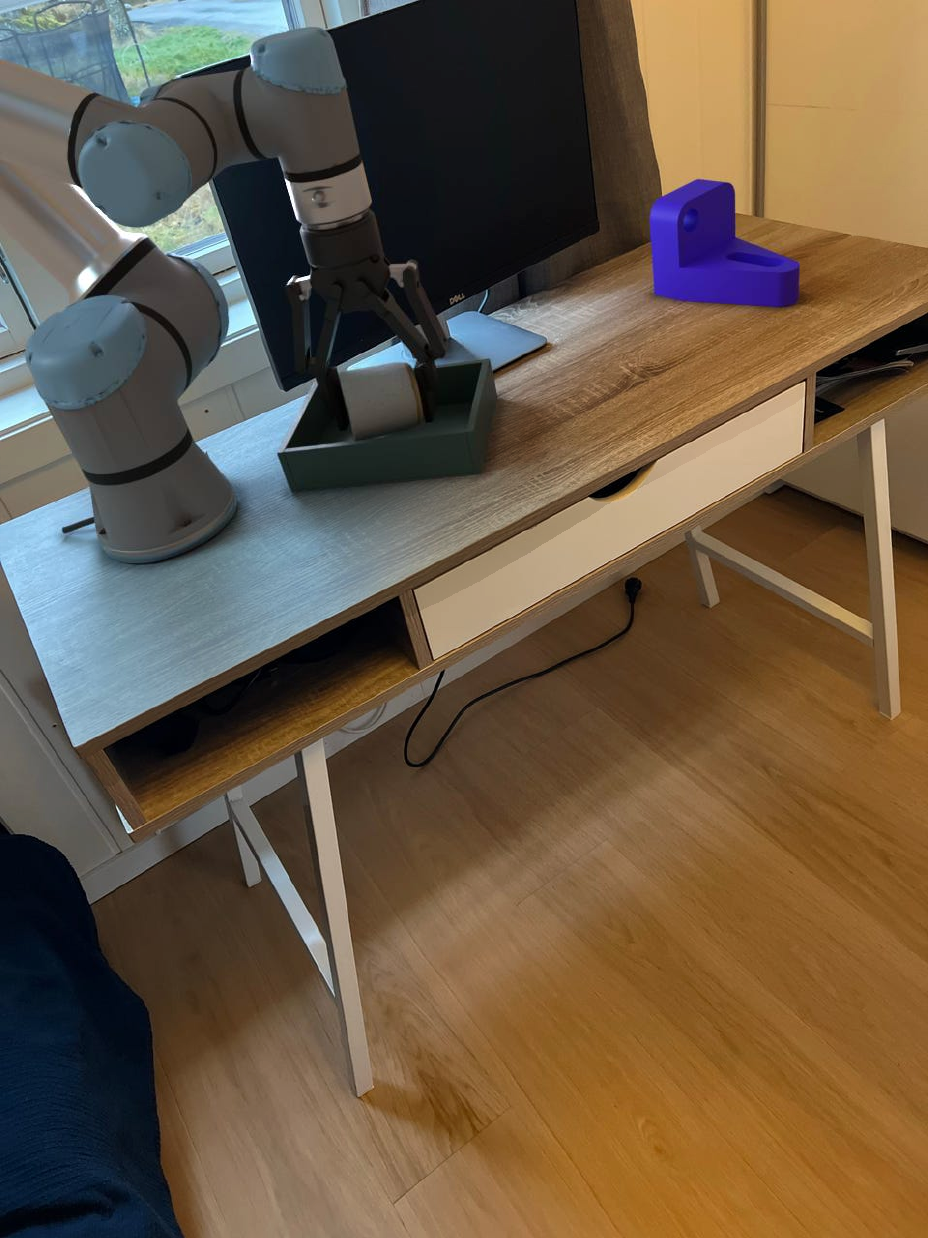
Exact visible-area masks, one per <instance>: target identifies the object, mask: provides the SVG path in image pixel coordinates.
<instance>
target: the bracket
mask: <svg viewBox="0 0 928 1238" xmlns="http://www.w3.org/2000/svg"><path fill="white" fill-rule="evenodd" d="M649 231H650V242H651V243H650V246H651V247H650V248H651V260H652V261H651V262H652V263H651V264H652V276H653V279H652V280H653V291H654V296H655V295H656V296H659V297H664V298H668V299H672V300H676V301H682V302H694V303H695V302H696V303H709V304H711V303H713V304H728V305H740V306H741V305H743V306H759V307H773V308H774V307H775V308H782V307H789V306H792V305H795V304H796V303H797V302H799V299H800V298H799V297H800V296H799V295H800V269H801V268H800V267H801V263H800V262H799V261H797V260H795V259H792V258H790V257H787V256H785V255H782V254H781V253H780V254H779V253H777V252H774V251H772V250H769V249H767V248H765V247H762V246H759V245H757V244H755V243H753V242H750V241H747V240H744V239H742V238H740V237H737V236H736V190H735V187H734V185H733V183H731V182H728V181H719V180H712V179H703V178H696V179H693V180H692V181H690V182H688V183H686V184H684V185H682V186H680V187H678V188H676V189H674V190H671V191H670V192H668V193H667V194H664V195H662V196H660V197H659V198H657V199H656V200H655V202H654V203H653V205H652V207H651V209H650V214H649Z"/></svg>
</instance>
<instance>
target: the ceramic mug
mask: <svg viewBox="0 0 928 1238" xmlns="http://www.w3.org/2000/svg"><path fill="white" fill-rule="evenodd" d="M413 368H414V367H412V365H411V364H410V363H408V362H405V361H403V362H402V361H393V362H388V363H382V364H378V365H372V366H367V367H360V368H355V369H354V368H353V369H349V370H343V371H340V372H338V374H339V380H340V384H341V389H342V393H343V397H344V401H345V405H346V409H347V413H348V417H349V421H350V426H351V430H352V433H353V438H354V441H359V440H368V439H372V438H375V437H379V436H383V435H386V434H390V433H394V432H398V431H402V430H406V429H409V428H412V427H414V426H416V425H418V424H420V423H421V421H422V419H423V410H422V403H421V398H420V393H419V389H418V385H417V381H416V377H415V374H414V371H413Z"/></svg>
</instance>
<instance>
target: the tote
mask: <svg viewBox="0 0 928 1238" xmlns="http://www.w3.org/2000/svg"><path fill="white" fill-rule="evenodd" d="M435 365H436V370H437V374H438V379H439V381H438V386H437V389H436V391H432V393H433V398H434V403H435V407H436V412H435V416H434V419H433V422H429V423H426V421H425V416H424V412H423V419H422V421H421V423H420V424H418V425H416V426H414V427H412V428H409V429H406V430H402V431H398V432H394V433H390V434H386V435H383V436H379V437H375V438H372V439H368V440H359V441H354V438H353V433H352V430H351V426H350V422H349V425H348V427H347V429H346V431H339V427H338V424H337V421H336V417H335V414H334V410H333V407H332V404H331V402H324V401H323V399H322V397H321V393H320V390H319V387H318V384H317V380H314V381H313V383H312V385H311V387H310V389H309V391H308V393H307V395H306V397H305V398H304V400H303V403H302V404H301V405H300V408H299V410H298V412H297V414H296V416H295V417H294V420H293V421H292V424H291V425H290V427H289V428H288V430H287V432H286V435H285V437H284V438H283V440H282V442H281V444H280V446H279V448H278V450H277V451H276V455H277V457H278V460H279V463H280V465H281V468H282V471H283V473H284V476H285V479H286V481H287V485H288V487H289V490H290V493H298V492H299V493H300V492H309V491H320V490H327V489H328V490H330V489H338V488H339V489H340V488H349V487H358V486H359V487H361V486H368V485H369V486H370V485H379V484H388V483H389V484H390V483H398V482H408V481H417V480H429V479H437V478H447V477H448V478H449V477H458V476H467V475H469V476H470V475H477V474H483V469H484V466H485V461H486V457H487V451H488V447H489V441H490V436H491V432H492V427H493V421H494V416H495V412H496V407H497V403H498V393H497V388H496V383H495V377H494V372H493V366H492V362H491V358H489V357H488V358H484V359H474V360H467V361H459V362H451V363H444V364H435ZM412 368H413V371H414V367H412ZM414 374H415V372H414ZM422 410H423V407H422Z"/></svg>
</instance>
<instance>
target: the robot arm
mask: <svg viewBox="0 0 928 1238" xmlns="http://www.w3.org/2000/svg"><path fill="white" fill-rule="evenodd" d="M249 55H250V66H248V67H245V68H241V69H238V70H231V71H225V72H219V73H212V74H205V75H200V76H192V77H186V78H181V77H176V78H171V79H170V80H168V81H165V82H162V83H158V84H153V85H150V86H148V87H146V88H145V89H143V90H142V91H141V92H140V95H139V96H138V97H139V98H138V104H137V105H136V106H135V105H133V104H129V103H127V102H124V101H121V100H118V99H114V98H112V97H110V96H105V95H103V94H102V93H101V94H100V93H98V92H96V91H93V90H90V89H87V88H85V87H82V86H79V85H77V84H74V83H71V82H68V81H66V80H63V79H60V78H57V77H55V76H52V75H49V74H46V73H43V72H40V71H38V70H35V69H32V68H29V67H27V66H24V65H21V64H19V63H16V62H13V61H10V60H7V59H5V58H2V57H0V228H1V229H2V230H3V231H4V232H5V233H6V234H7V235H8V236H9V237H10V238H11V239H13V241H15V242H16V243H17V244H18V245H19V246H20V247H21V248H22V249H23V250H24V251H25V252H26V253H28V255H29V256H30V257H32V258H33V259H34V260H35V261H36V262H37V263H38V264H39V265H40V266H41V267H42V268H43V269H44V270H45V271H46V272H47V273H49V274H50V275H51V276H52V277H53V278H54V279H55V280H56V281H57V282H58V283H59V284H60V285H61V286H63V287H64V288H65V289H66V292H67V295H68V304H69V305H66V306H65V309H64V310H62V311H58V312H54V313H52V314H51V315H49V317H47V318H46V319H45V320H44V321H42V322H41V323H40V324H39V325H38V326H37V327H36V328H35V329H34V330H33V332H32V333H31V335H30V336H29V338H28V340H27V342H26V345H25V349H24V358H25V362H26V365H27V367H28V370H29V372H30V374H31V377H32V378H33V382H34V386H35V389H36V391H37V394H38V395H39V396H40V399H42V400H43V402H44V404H45V405H46V407H47V409H48V411H49V413H50V415H51V416H52V418H53V420H54V422H55V424H56V426H57V427H58V429H59V431H60V433H61V435H62V437H63V439H64V441H65V442H66V444H67V446H68V447H69V450H70V451H71V453H72V455H73V457H74V459H75V460H76V463H77V464H78V466H79V467H80V469H81V471H82V473H83V475H84V477H85V479H86V481H87V483H88V486H89V493H90V499H91V507H92V514H93V516H91V517H88V518H86V519H83V520H79V521H77V522H74V523H72V524H70V525H66V526H63V527H62V528H61V532H62V533H63V534H68V533H71V532H74V531H78V530H79V529H81V528H84V527H87V526H90V525H94V529H95V533H96V535H97V539H98V541H99V542H100V545H101V547H102V548H103V550H104V552H105V553H106V555H108V557H110V558H111V559H114V560H116V561H118V562H122V563H128V564H145V563H152V562H159V561H163V560H167V559H170V558H174V557H176V556H179V555H182V554H184V553H187V552H189V551H191V550H193V549H195V548H197V547H199V546H201V545H203V544H204V543H206V542H207V541H209V540H211V539H212V538H213V537H215V536H216V534H218V533H220V531H222V530H223V529H224V528H225V527H226V526H227V524H228V523H229V522H230V521H231V520H232V519H233V516H234V514H235V513H236V511H237V506H238V498H237V495H236V492H235V490H234V488H233V485H232V484H231V482H230V480H229V479H228V478H227V476H226V474H224V473H223V472H222V471H221V470H220V469H219V468H218V467H217V466H216V464H215V463H214V462H213V461H212V460H211V458H210V456H209V454H208V451H204V450H202V448H201V447H200V446H199V445H198V444H197V443H196V441H195V439H194V438H193V435H192V433H191V431H190V428H189V425H188V423H187V421H186V418H185V417H184V414H183V412H182V409H181V407H180V405H179V401H178V400H179V399H180V398H181V397H182V395H184V393H185V392H186V391H187V390H188V388H189V387H190V386H191V385H192V383H194V381H195V380H196V379H197V378H198V377H199V375H200V374H201V373H202V371H203V370H205V368H207V367H208V366H209V365H210V364H211V362H213V361H215V359H216V357H217V356H218V354H219V351H220V350H221V347H222V345H223V344H224V343H225V341H226V338H227V336H228V332H229V328H230V315H229V314H230V313H229V304H228V302H227V298H226V295H225V293H224V291H223V288H222V287H221V285H220V283H219V282H218V280H217V279H216V277H215V276H214V275H213V273H211V271H209V270H208V268H206V267H205V266H204V265H203V264H202V263H200V262H199V261H197V260H196V259H194V258H192V257H190V256H188V255H179V254H177V253H168V252H167V253H165V252H164V251H163V250H162V249H161V248H160V247H159V246H158V245H157V244H155V242H154V241H153V240H152V239H151V238H150V237H149V236H148V235H146V234H145V233H134V232H133V233H132V232H126V231H123V230H122V229H121V228H119V226H118V225H120V226H122V227H126V228H133V229H135V228H136V229H139V228H145V227H148V226H152V225H155V224H156V223H158V222H159V221H161V220H162V219H165V218H167V217H168V216H170V215H172V214H174V213H176V212H177V211H179V210H180V209H181V208H182V207H183V205H184V204H185V202H186V201H187V200H188V199H189V198H191V197H192V196H193V195H194V194H195V193H196V192H197V191H199V190H200V189H201V188H202V187H204V186H205V185H207V184H208V183H210V181H212V180H213V179H214V178H215V177H216V176H218V175H219V174H220V173H221V172H223V170H225V169H226V168H229V167H230V166H235V165H240V164H246V163H253V162H259V161H267V160H271V159H275V158H277V159H278V161H279V164H280V166H281V170H282V173H283V177H284V180H285V183H286V187H287V190H288V194H289V197H290V201H291V205H292V208H293V212H294V215H295V218H296V221H297V222H298V223H300V224H301V226H300V229H299V233H300V237H301V242H302V244H303V249H304V251H305V255H306V258H307V262H308V264H309V267H310V268H309V269H310V274H309V275H306V276H303V277H301V276H300V275H293V276H292V277H291V278H290V280H289V281H288V282H287V284H286V286H285V287H284V291H285V294H286V297H287V299H288V301H289V304H290V307H291V315H292V316H291V318H292V320H291V321H292V336H293V337H292V338H293V355H294V357H293V358H294V369H295V371H296V373H298V374H300V375H303V374H310V375H312V376H313V377H314V378H315V381H317V384H318V387H319V390H320V393H321V397H322V399H323V401H324V402H331V404H332V407H333V410H334V414H335V417H336V421H337V424H338V427H339V431H346V429H347V427H348V425H349V422H350V421H349V417H348V413H347V409H346V405H345V401H344V397H343V393H342V389H341V384H340V380H339V371H338V367H337V366H329V364H330V363H331V361H330V359H331V355H332V351H333V347H334V342H335V338H336V334H337V330H338V327H339V326H338V325H339V322H340V317H341V313H342V315H345V314H351V313H354V312H356V311H358V312H359V311H360V312H369V311H371V312H372V311H374V313H375V314H376V315H377V317H379V318H381V319H383V321H384V322H385V323H386V324H387V326H388V327H389V328H390V329H391V330H392V331H393V333H394V334H395V335H396V336H397V338H398V340H400V342H402V344H404V346H405V347H406V348H407V350H408V351H409V352H410V353H411V355H412V356H413V357H414V358H415V359H416V360H415V364H414V367H413V368H414V372H415V377H416V381H417V385H418V389H419V393H420V398H421V403H422V407H423V412H424V416H425V421H426V423H429V422H433V419H434V416H435V412H436V407H435V403H434V398H433V393H432V391H436V389H437V386H438V381H439V379H438V374H437V370H436V365H437V364H436V360H438V359H443V358H445V356H446V354H447V351H448V348H449V343H450V342H449V340H448V337H447V335H446V333H445V331H444V329H443V327H442V325H441V323H440V320H439V319H438V317H437V314H436V312H435V310H434V307H433V306H432V304H431V302H430V300H429V298H428V296H427V293H426V291H425V289H424V287H423V285H422V283H421V277H420V269H419V262H418V261H417V260H415V259H409V260H408V261H407V262H406V263H393V264H391V262H390V261H389V260H388V258H387V257H386V256H385V253H384V249H383V244H382V240H381V236H380V231H379V226H378V223H377V219H376V215H375V212H374V211H373V210H371V208H370V206H371V205H372V202H373V200H372V196H371V191H370V188H369V183H368V180H367V175H366V171H365V167H364V163H363V160H362V159H363V158H362V154H361V152H360V146H359V141H358V138H357V137H358V136H357V133H356V128H355V123H354V118H353V113H352V108H351V105H350V101H349V100H350V98H349V95H348V89H347V88H348V84H347V81H346V78H345V77H344V75H343V72H342V68H341V63H340V60H339V57H338V54H337V50H336V47H335V43H334V40H333V38H332V36H331V34H330V33H329V32H328V31H327V30H326V29H324V28H321V27H318V26H308V27H307V26H305V27H299V28H294V29H289V30H285V31H282V32H276V33H273V34H270V35H266V36H264V37H261V38H259V39H257V40H255V41H254V42H252V44H251V45H250V47H249ZM82 189H83V190H82ZM391 278H392V279H394V280H395V281H396V283H397V285H398V286H399V287H400V288H403V289H404V293H405V296H406V299H407V301H408V303H409V305H410V307H411V309H412V311H413V313H414V316H415V317H416V319H417V322H418V323H419V326H420V328H421V330H422V332H423V334H424V335H425V337H424V336H423V334H422V333H421V332H420V330H419V329H418V328H417V327H416V325H415V324H414V322H412V320H411V319H410V318H409V317H408V315H407V314H406V313H405V312H404V311H403V309H402V308H401V307H400V306H399V304H398V303H397V302H396V300H395V299H396V298H395V297H394V295H393V294H392V293H391V291H390V290H389V289H388V288H387V286H388V284H389V281H390V279H391ZM312 289H313V290H314V291H315V292H316V293H317V294H318V295H319V296H320V297H321V298H323V300H325V301H326V307H325V311H324V316H323V322H322V327H321V331H320V336H319V341H318V344H317V350H316V354H315V357H312V340H311V338H312V337H311V317H310V314H311V313H310V299H309V298H310V296H311V295H312Z"/></svg>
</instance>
